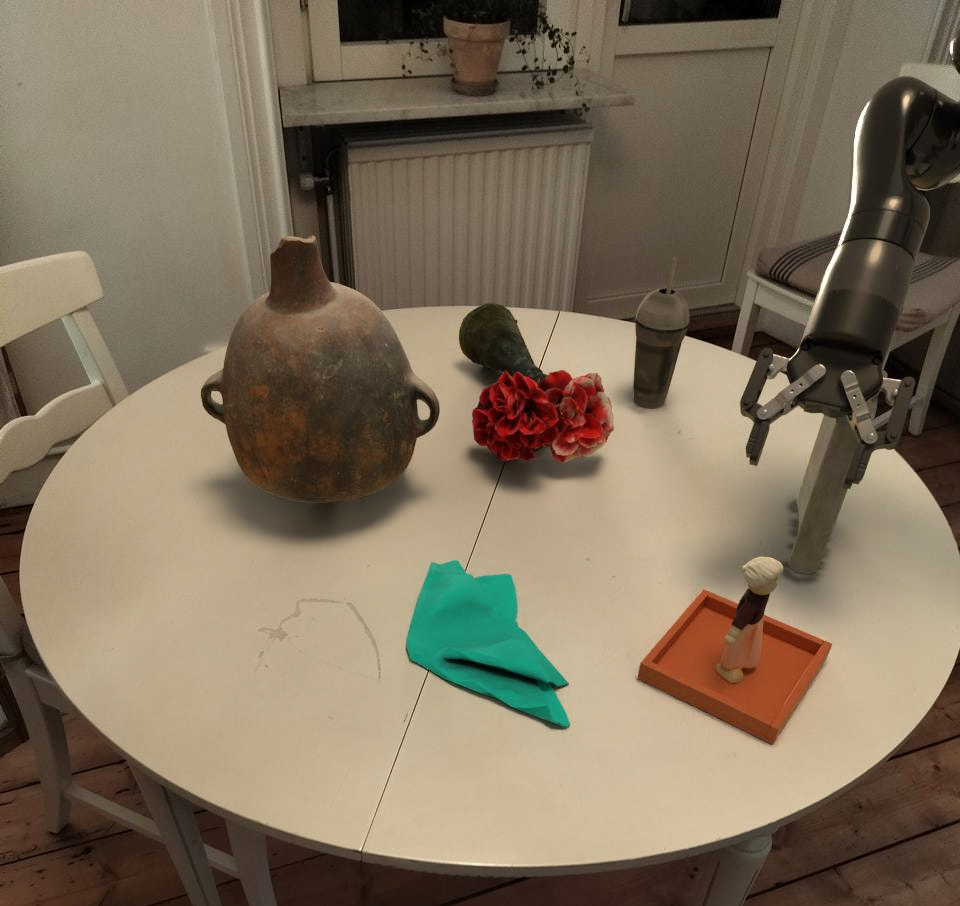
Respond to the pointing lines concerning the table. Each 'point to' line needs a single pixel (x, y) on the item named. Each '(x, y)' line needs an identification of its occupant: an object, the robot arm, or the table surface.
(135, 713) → the table surface
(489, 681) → the cloth
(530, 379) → the carnation
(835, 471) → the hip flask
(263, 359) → the jug
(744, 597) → the grandmother figurine
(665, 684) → the figure tray
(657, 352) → the beverage cup
